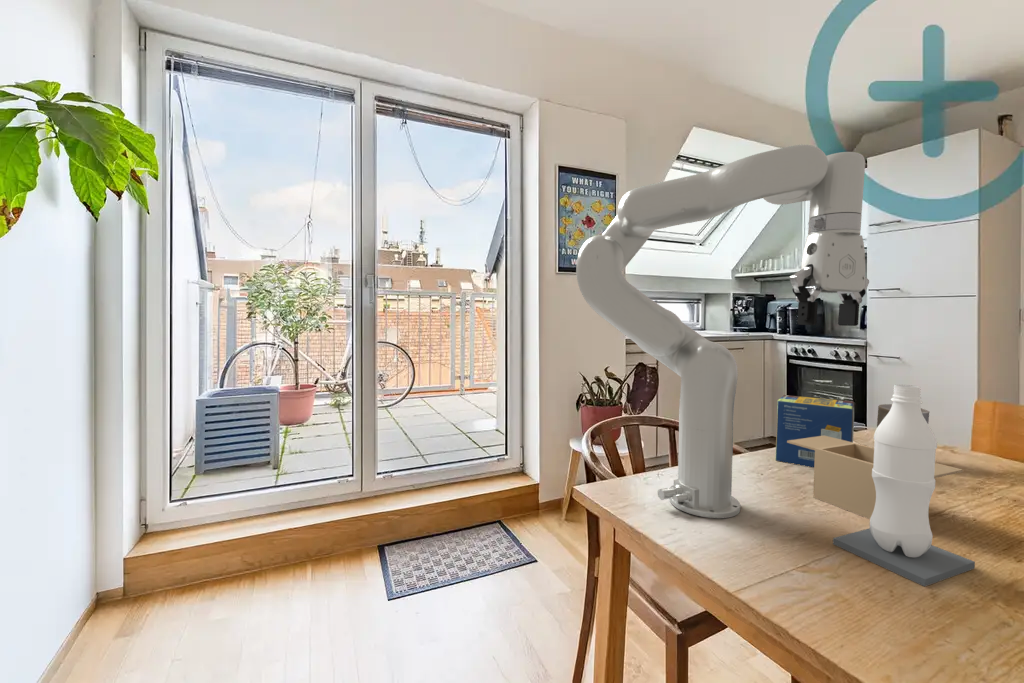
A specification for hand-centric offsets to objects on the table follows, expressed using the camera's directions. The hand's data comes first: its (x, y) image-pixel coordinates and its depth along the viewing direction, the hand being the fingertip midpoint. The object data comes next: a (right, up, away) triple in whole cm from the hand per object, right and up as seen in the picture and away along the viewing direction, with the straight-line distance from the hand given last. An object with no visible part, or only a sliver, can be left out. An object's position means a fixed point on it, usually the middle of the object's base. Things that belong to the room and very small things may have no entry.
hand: (827, 325), depth 79 cm
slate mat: (+3, -36, -12) cm, 37 cm away
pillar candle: (+41, -33, +32) cm, 61 cm away
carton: (+12, -35, +7) cm, 37 cm away
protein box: (+19, -33, +32) cm, 50 cm away
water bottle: (+3, -35, -12) cm, 37 cm away
